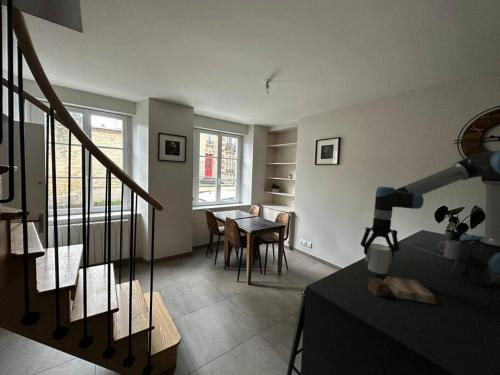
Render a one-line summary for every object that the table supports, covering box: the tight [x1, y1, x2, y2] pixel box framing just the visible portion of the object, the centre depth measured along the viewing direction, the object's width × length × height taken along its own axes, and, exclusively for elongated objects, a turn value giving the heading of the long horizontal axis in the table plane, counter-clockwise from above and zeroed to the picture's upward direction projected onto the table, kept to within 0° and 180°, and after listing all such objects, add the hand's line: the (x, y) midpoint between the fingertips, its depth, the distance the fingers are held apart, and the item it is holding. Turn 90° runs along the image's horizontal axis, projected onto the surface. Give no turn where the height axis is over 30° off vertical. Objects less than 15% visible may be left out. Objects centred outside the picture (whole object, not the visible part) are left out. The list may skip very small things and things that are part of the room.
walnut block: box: [367, 277, 389, 297], centre depth 94 cm, size 5×5×5 cm
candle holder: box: [367, 243, 391, 275], centre depth 110 cm, size 10×10×12 cm
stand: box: [383, 275, 437, 305], centre depth 96 cm, size 14×14×3 cm
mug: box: [437, 239, 459, 261], centre depth 143 cm, size 12×8×11 cm
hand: (377, 261), depth 110 cm, fingers closed on candle holder, 9 cm apart
